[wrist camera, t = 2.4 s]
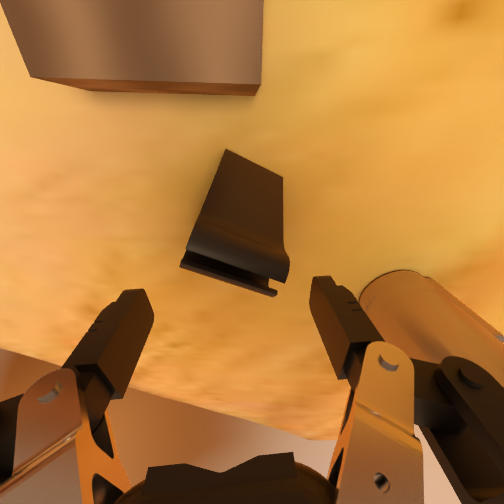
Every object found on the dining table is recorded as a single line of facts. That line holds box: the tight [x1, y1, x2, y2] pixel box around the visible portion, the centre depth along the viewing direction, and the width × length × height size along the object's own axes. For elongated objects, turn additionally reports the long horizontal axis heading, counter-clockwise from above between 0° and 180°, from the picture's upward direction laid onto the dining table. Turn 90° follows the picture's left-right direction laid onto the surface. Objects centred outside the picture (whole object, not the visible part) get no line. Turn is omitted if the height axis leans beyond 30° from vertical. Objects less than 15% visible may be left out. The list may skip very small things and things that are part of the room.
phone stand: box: [179, 149, 290, 297], centre depth 17 cm, size 9×6×12 cm, turn 154°
